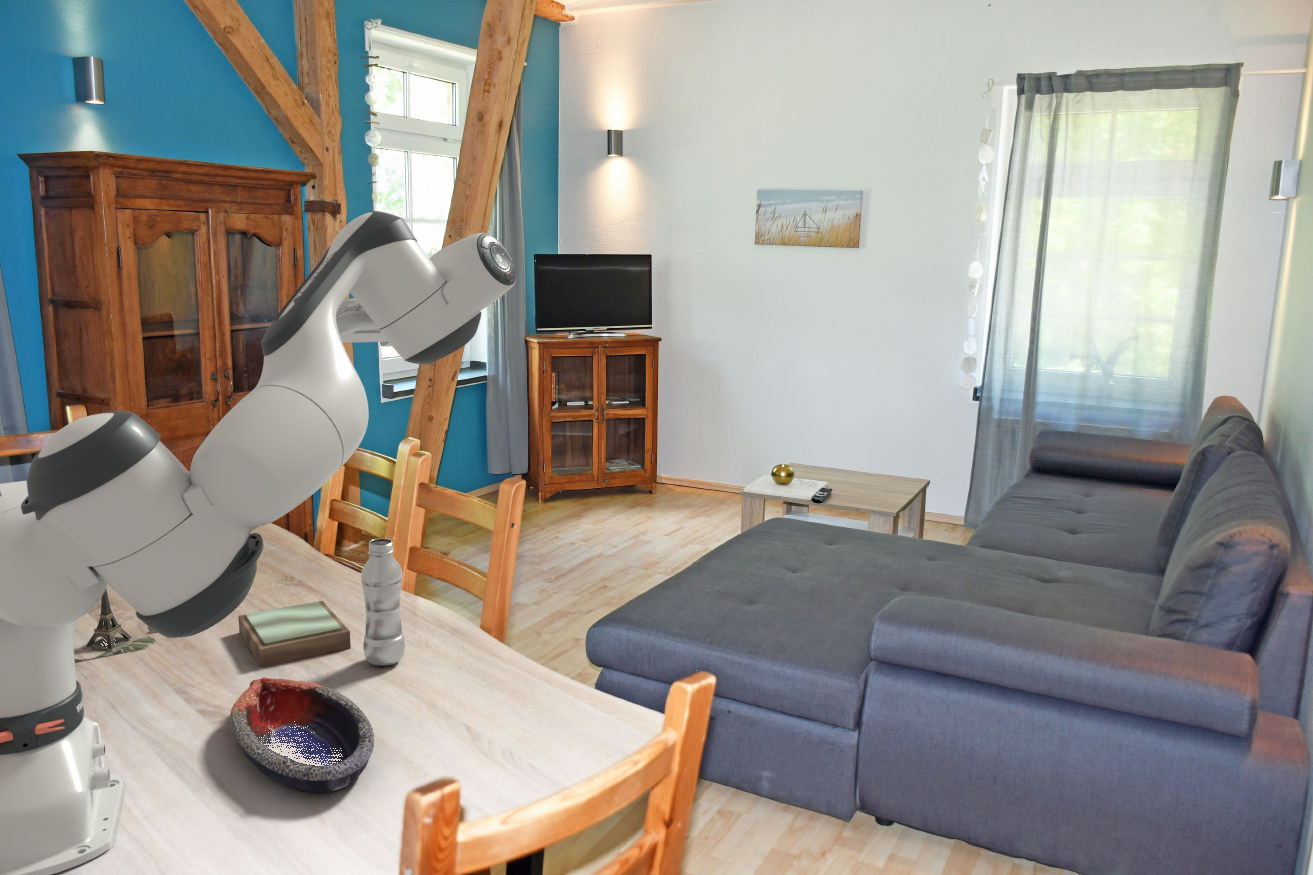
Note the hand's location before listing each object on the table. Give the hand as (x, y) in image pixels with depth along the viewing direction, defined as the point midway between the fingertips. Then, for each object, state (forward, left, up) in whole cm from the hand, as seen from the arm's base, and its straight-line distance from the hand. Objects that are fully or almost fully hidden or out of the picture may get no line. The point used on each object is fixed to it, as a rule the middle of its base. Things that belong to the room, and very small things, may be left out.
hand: (355, 342), depth 134 cm
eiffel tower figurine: (+39, +30, -53) cm, 73 cm away
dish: (-11, +12, -53) cm, 55 cm away
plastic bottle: (+9, -6, -52) cm, 54 cm away
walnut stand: (+25, +4, -52) cm, 58 cm away
